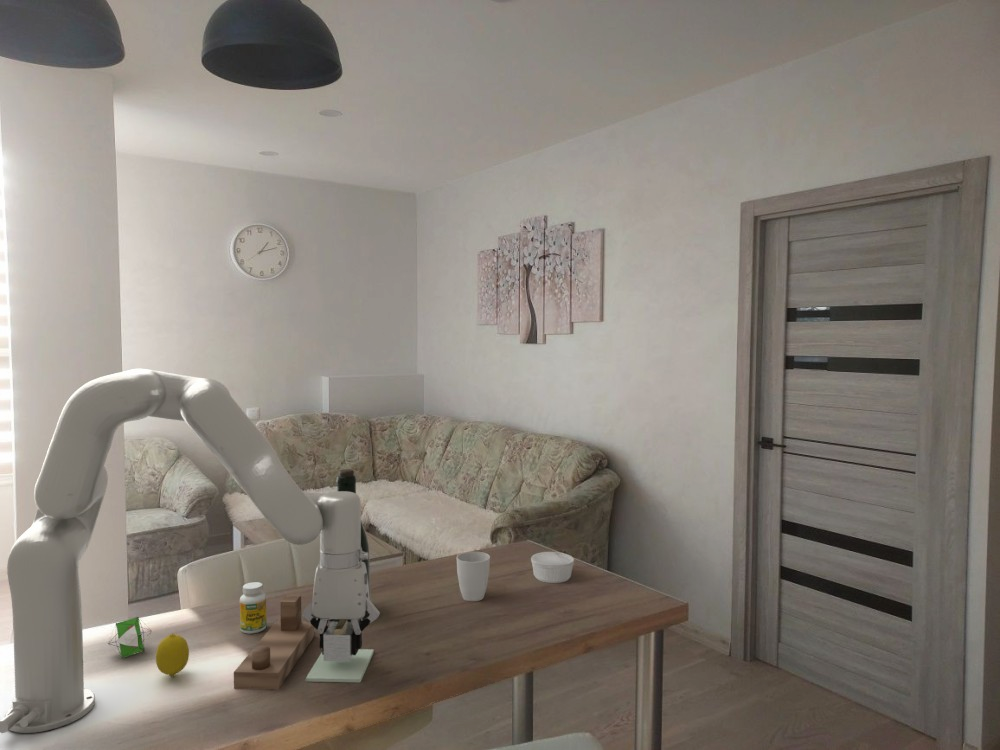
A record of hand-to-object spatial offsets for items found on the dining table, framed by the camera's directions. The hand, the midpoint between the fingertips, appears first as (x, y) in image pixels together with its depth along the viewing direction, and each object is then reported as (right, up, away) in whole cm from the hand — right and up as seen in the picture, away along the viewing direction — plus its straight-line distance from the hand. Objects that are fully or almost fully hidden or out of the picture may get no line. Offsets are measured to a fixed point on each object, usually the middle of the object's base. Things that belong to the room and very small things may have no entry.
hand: (340, 650), depth 132 cm
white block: (0, -1, 0) cm, 1 cm away
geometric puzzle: (-43, -3, +5) cm, 43 cm away
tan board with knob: (-13, -3, +2) cm, 13 cm away
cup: (+24, -1, +36) cm, 43 cm away
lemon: (-30, -3, -4) cm, 30 cm away
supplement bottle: (-23, -2, +17) cm, 28 cm away
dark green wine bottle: (-4, -2, +25) cm, 26 cm away
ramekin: (+44, -1, +50) cm, 67 cm away
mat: (0, -3, 0) cm, 3 cm away
